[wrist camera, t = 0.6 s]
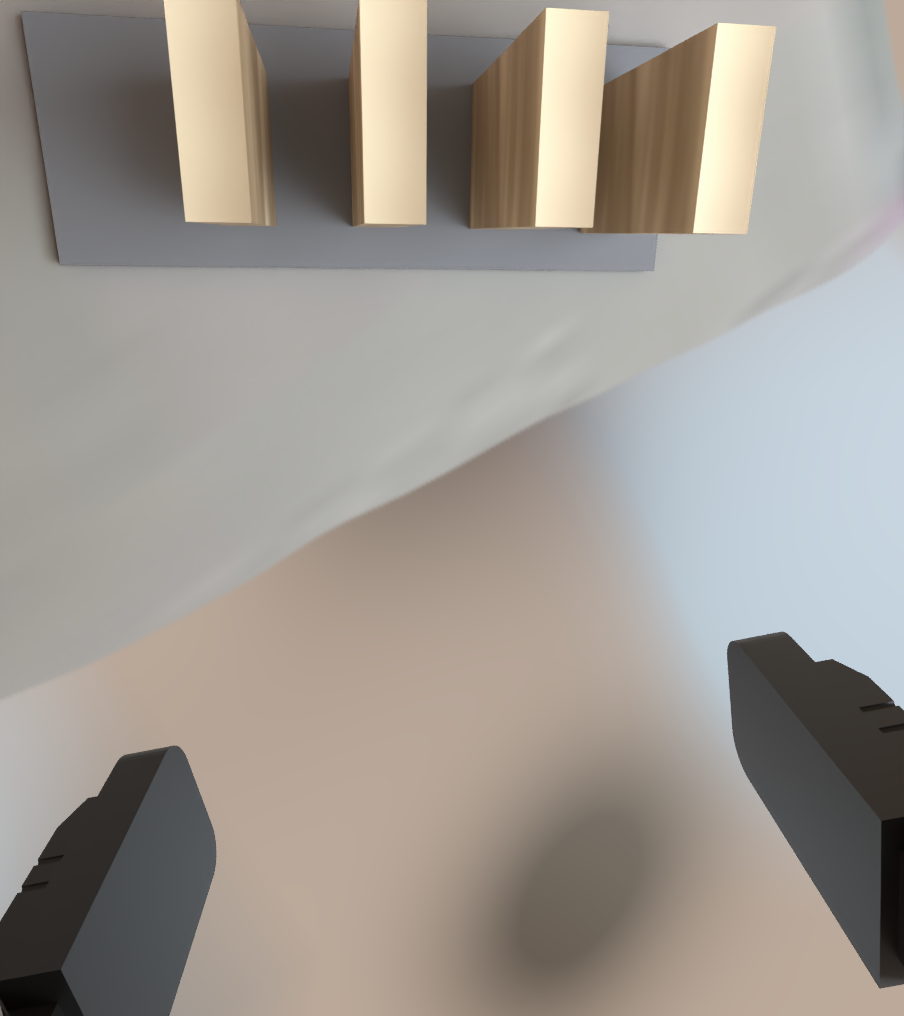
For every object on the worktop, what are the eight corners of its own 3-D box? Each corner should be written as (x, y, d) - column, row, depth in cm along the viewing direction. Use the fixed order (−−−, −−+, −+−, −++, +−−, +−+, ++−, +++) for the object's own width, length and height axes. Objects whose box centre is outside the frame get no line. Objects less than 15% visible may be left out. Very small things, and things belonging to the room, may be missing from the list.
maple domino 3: (469, 229, 29) (535, 226, 20) (472, 83, 28) (546, 7, 18) (509, 229, 30) (593, 227, 20) (515, 86, 28) (608, 11, 19)
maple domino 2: (352, 226, 29) (364, 223, 19) (348, 78, 27) (359, -5, 18) (394, 227, 29) (426, 224, 20) (393, 80, 27) (427, -1, 18)
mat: (64, 264, 28) (59, 264, 28) (26, 15, 25) (20, 11, 25) (649, 270, 31) (653, 271, 31) (671, 51, 29) (676, 48, 28)
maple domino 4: (580, 233, 30) (693, 232, 21) (589, 92, 28) (717, 23, 19) (618, 233, 30) (746, 233, 21) (630, 94, 29) (776, 26, 19)
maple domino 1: (232, 225, 28) (185, 221, 19) (220, 73, 26) (162, -15, 17) (276, 226, 28) (251, 222, 19) (267, 75, 26) (235, -11, 17)
